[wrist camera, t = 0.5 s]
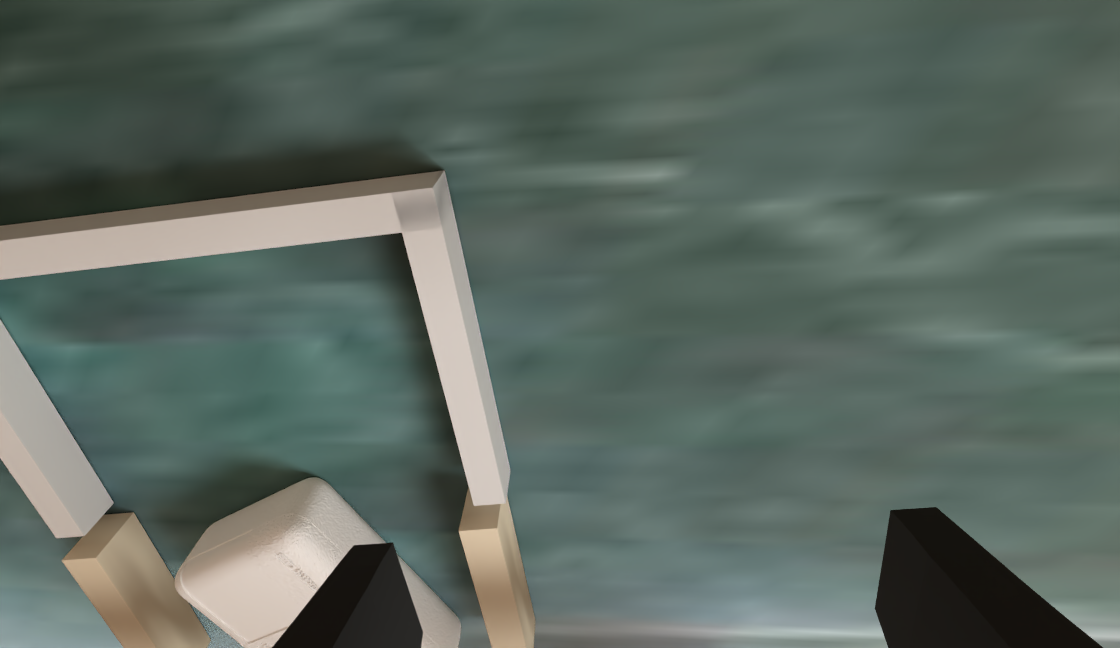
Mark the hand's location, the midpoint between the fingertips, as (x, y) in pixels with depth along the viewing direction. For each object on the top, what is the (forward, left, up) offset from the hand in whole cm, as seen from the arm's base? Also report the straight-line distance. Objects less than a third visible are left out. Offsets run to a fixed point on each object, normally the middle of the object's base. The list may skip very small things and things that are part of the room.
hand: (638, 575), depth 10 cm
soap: (-10, +11, -10) cm, 18 cm away
